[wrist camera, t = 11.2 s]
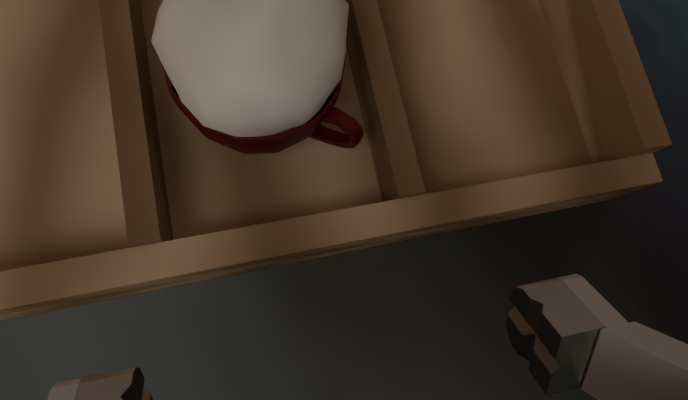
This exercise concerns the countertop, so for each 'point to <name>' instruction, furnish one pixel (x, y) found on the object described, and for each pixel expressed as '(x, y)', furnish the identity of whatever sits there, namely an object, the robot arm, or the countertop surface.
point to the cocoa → (257, 70)
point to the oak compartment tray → (304, 143)
